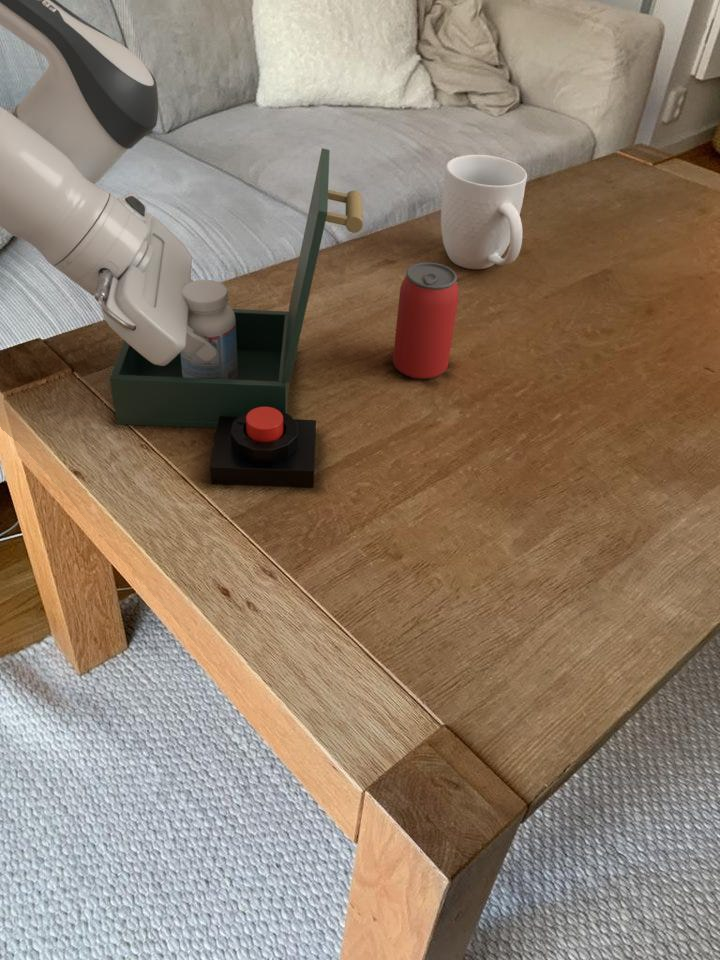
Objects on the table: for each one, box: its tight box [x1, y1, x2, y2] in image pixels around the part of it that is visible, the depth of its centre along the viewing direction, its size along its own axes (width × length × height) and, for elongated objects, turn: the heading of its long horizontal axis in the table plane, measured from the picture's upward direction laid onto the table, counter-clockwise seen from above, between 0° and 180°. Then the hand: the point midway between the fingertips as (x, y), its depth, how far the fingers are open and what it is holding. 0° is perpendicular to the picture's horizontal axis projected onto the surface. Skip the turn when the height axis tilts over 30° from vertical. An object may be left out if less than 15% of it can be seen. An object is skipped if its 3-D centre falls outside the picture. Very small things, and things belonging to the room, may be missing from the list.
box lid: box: [282, 147, 364, 384], centre depth 82 cm, size 18×15×5 cm
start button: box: [246, 407, 283, 442], centre depth 80 cm, size 4×4×2 cm
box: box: [109, 308, 291, 429], centre depth 90 cm, size 18×15×6 cm
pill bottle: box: [180, 279, 238, 380], centre depth 87 cm, size 6×6×11 cm
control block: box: [209, 410, 317, 488], centre depth 82 cm, size 10×8×4 cm
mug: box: [440, 154, 528, 270], centre depth 113 cm, size 15×11×13 cm
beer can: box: [392, 261, 460, 380], centre depth 93 cm, size 7×7×12 cm
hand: (213, 335), depth 87 cm, fingers closed on pill bottle, 6 cm apart
